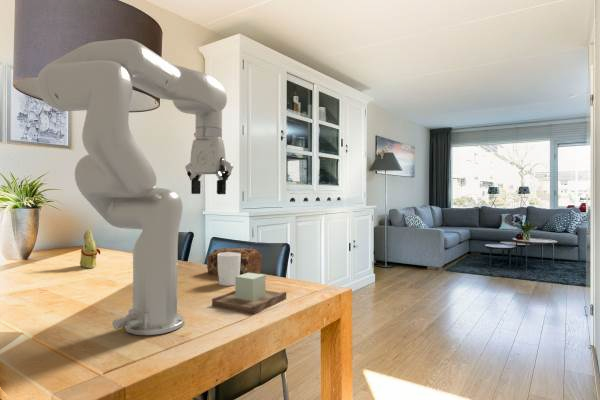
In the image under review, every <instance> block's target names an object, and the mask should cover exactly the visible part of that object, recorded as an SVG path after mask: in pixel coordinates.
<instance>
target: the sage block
mask: <svg viewBox="0 0 600 400" xmlns="http://www.w3.org/2000/svg"><path fill="white" fill-rule="evenodd" d="M266 280H267V279H266V274H262V273H260V274H255V273H245V274H242V275H239V276H236V277H235V285H234V291H235V298H238V299H243V300H249V301H255V300H257V299H259V298H262V297H264V296H265V290H266Z"/></svg>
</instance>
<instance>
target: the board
mask: <svg viewBox="0 0 600 400" xmlns="http://www.w3.org/2000/svg"><path fill="white" fill-rule="evenodd" d="M285 300H287V292H285V291H283V292H277V291H273V290H266V289H265V296H264V297H262V298H259V299H257V300H255V301H249V300H243V299H238V298H235V290H233V291H230V292H227V293H225V294H222V295H220V296H216V297H214V298H212V299H211V306H212V307H216V308H220V309H221V308H222V309H227V310H230V311H236V312H242V313H246V314H251V315H256V314H258V313H260V312H262V311H265V310H267V309H268V308H270V307H273V306H274V305H276V304H279V303H280V302H283V301H285Z"/></svg>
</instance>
